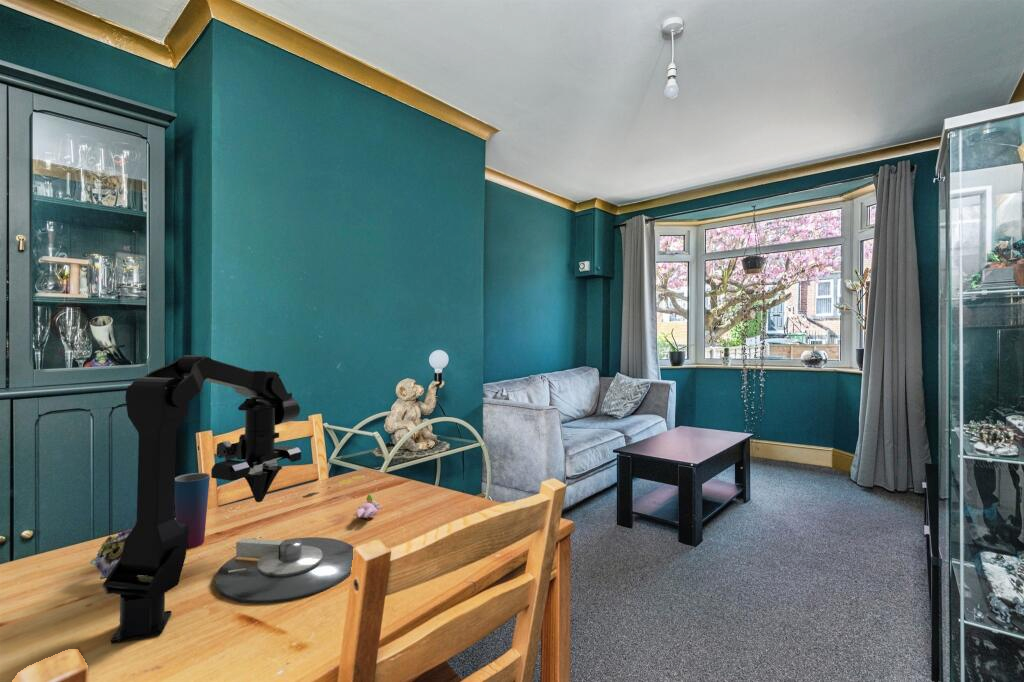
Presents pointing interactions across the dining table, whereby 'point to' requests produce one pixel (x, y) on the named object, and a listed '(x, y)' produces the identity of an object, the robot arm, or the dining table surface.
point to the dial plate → (254, 587)
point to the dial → (279, 555)
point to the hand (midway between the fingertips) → (259, 501)
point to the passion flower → (110, 553)
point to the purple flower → (368, 508)
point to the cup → (192, 505)
